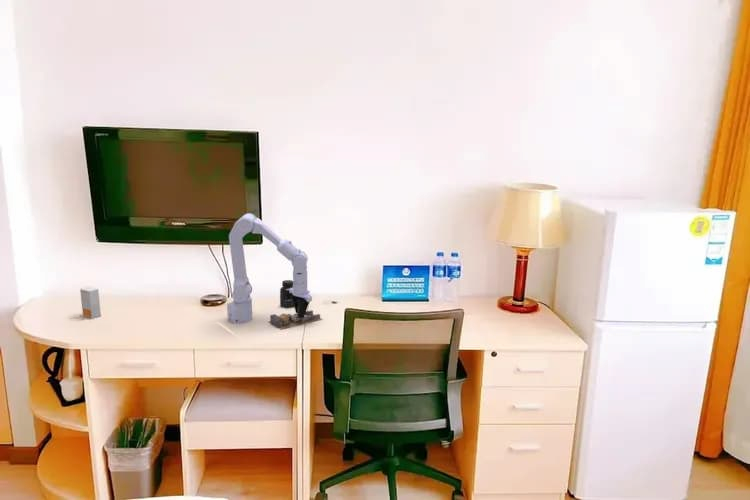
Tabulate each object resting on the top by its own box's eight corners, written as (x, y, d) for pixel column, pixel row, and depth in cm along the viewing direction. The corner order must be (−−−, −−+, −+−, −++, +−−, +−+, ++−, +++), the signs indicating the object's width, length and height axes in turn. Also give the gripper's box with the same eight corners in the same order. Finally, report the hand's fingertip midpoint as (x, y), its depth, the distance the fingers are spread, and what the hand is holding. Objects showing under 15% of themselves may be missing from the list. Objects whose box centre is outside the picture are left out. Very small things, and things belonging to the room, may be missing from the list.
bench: (280, 332, 218) (280, 321, 217) (267, 323, 226) (267, 313, 225) (323, 321, 229) (323, 311, 228) (309, 314, 238) (308, 304, 237)
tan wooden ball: (281, 325, 221) (281, 316, 220) (276, 322, 224) (276, 313, 224) (290, 323, 224) (290, 314, 223) (285, 320, 227) (285, 311, 226)
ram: (292, 322, 224) (292, 309, 223) (287, 319, 227) (287, 306, 226) (307, 319, 229) (307, 305, 227) (302, 316, 232) (302, 303, 230)
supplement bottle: (287, 311, 241) (287, 284, 238) (276, 307, 245) (276, 281, 242) (299, 307, 246) (298, 281, 243) (288, 304, 250) (287, 278, 247)
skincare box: (82, 316, 230) (79, 288, 228) (91, 313, 234) (89, 286, 231) (92, 319, 228) (89, 291, 225) (101, 316, 231) (98, 288, 228)
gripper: (318, 284, 222) (318, 316, 225) (299, 276, 233) (300, 307, 236) (303, 287, 218) (303, 320, 221) (284, 278, 229) (285, 310, 232)
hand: (300, 313), depth 228 cm, fingers closed on ram, 3 cm apart
